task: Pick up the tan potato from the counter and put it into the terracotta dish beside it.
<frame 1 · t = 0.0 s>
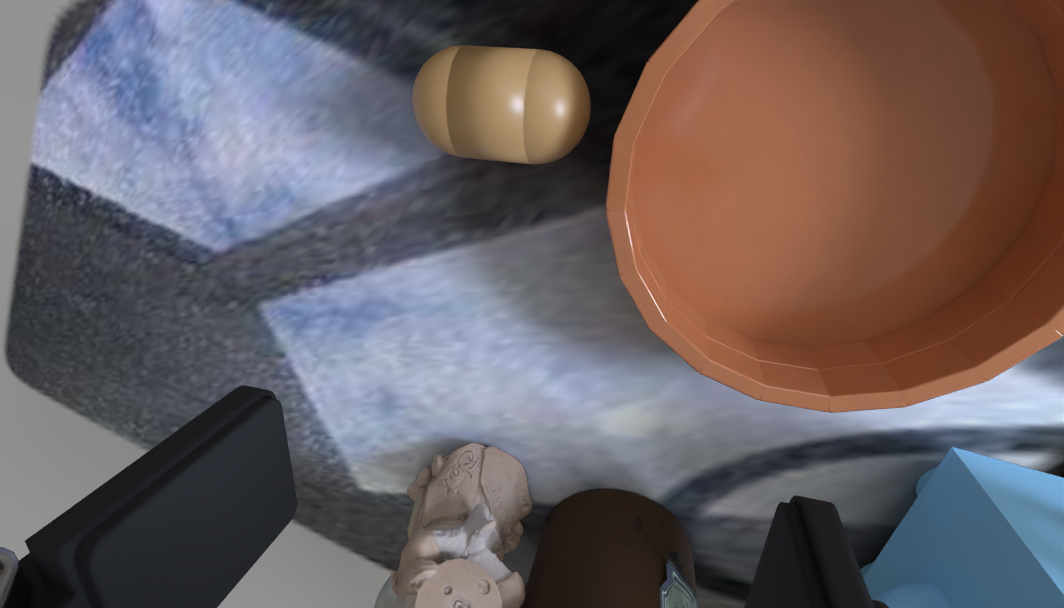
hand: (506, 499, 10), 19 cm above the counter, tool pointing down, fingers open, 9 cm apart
olive oil: (618, 543, 34), on the counter
figurine: (483, 487, 35), on the counter
light blue teapot: (973, 568, 29), on the counter
potato: (514, 103, 25), on the counter
terracotta dish: (821, 176, 23), on the counter
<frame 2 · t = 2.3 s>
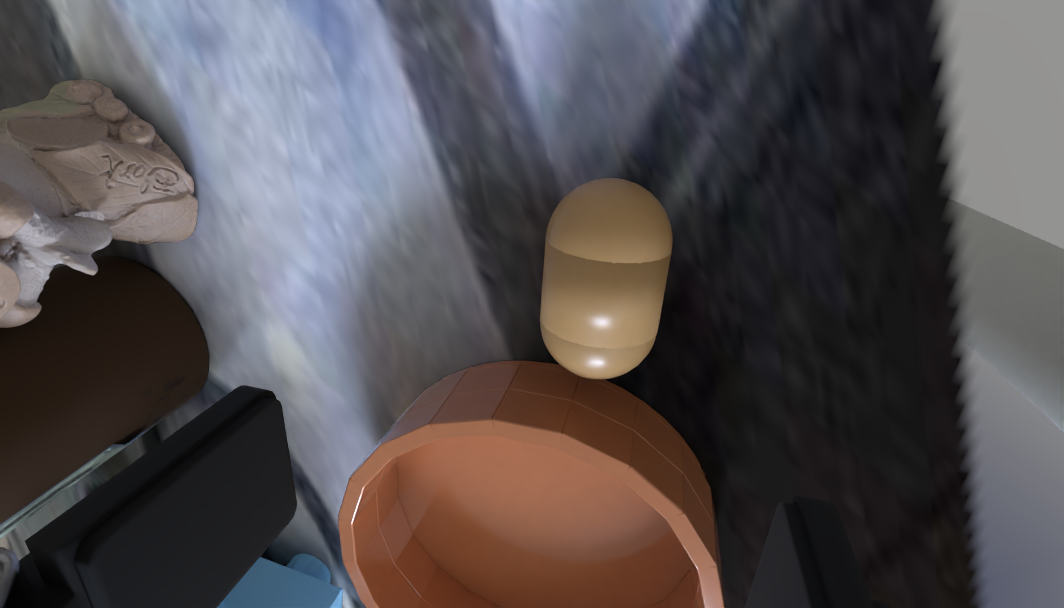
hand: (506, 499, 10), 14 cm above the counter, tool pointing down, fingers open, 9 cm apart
olive oil: (144, 332, 31), on the counter
figurine: (136, 176, 27), on the counter
light blue teapot: (253, 580, 38), on the counter
potato: (609, 263, 22), on the counter
terracotta dish: (540, 506, 28), on the counter
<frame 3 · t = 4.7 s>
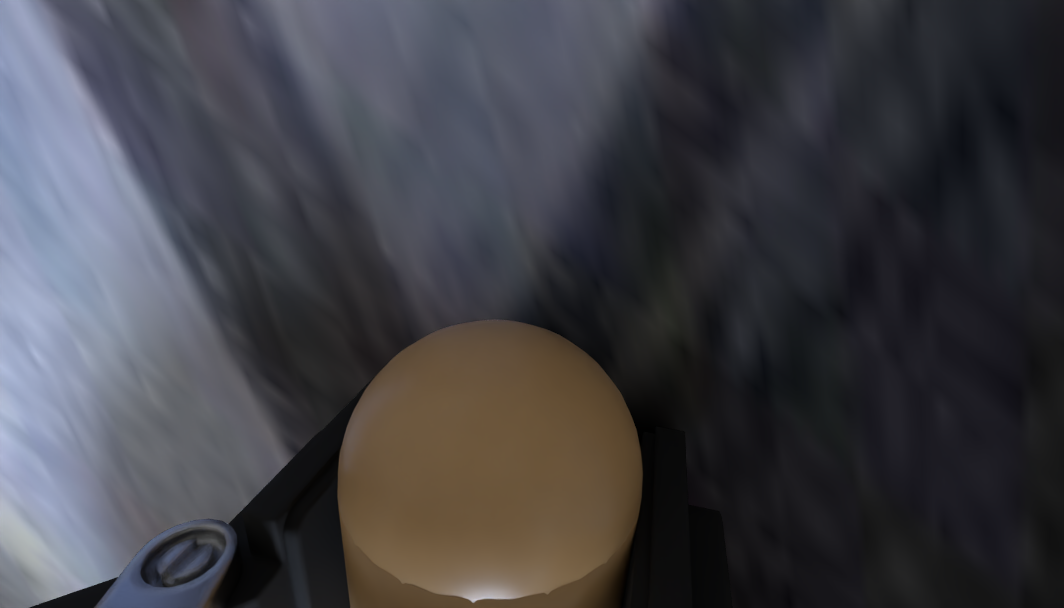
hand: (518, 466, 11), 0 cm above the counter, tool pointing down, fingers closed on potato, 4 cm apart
potato: (523, 454, 11), on the counter, touching gripper
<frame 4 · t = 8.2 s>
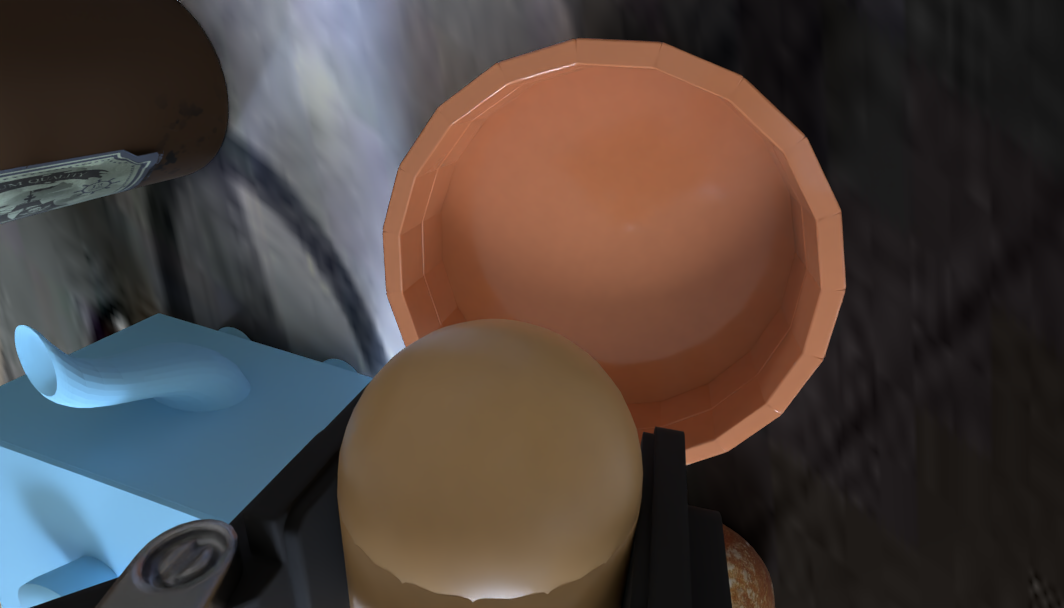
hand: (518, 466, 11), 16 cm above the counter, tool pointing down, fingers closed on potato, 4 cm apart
olive oil: (154, 85, 28), on the counter
bread roll: (670, 566, 32), on the counter
light blue teapot: (275, 404, 34), on the counter
potato: (523, 453, 11), point 16 cm above the counter, touching gripper
terracotta dish: (605, 253, 25), on the counter
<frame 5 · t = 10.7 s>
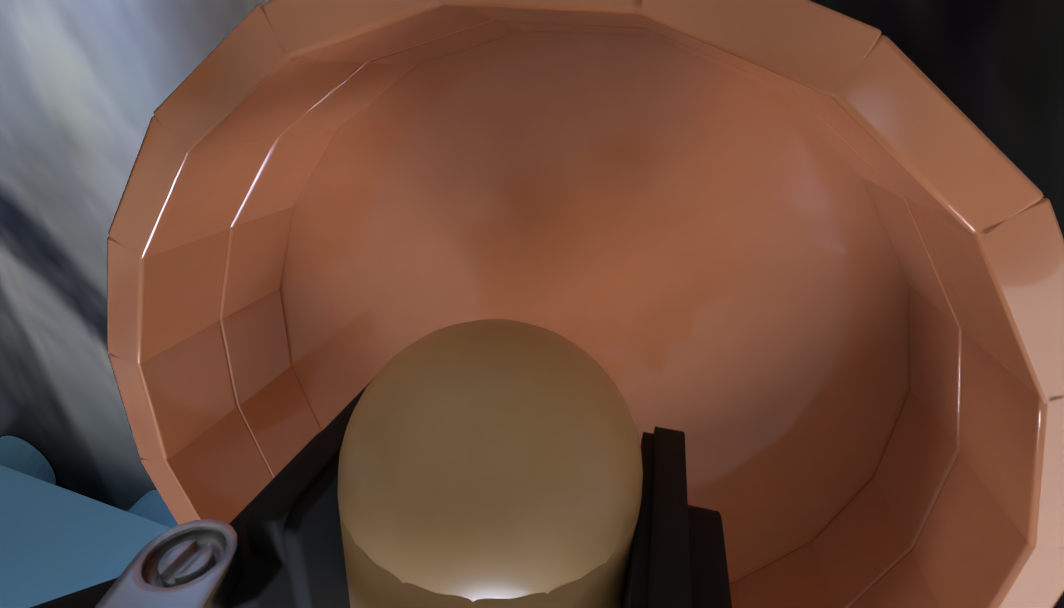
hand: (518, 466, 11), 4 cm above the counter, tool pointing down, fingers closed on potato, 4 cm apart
light blue teapot: (96, 540, 24), on the counter
potato: (523, 453, 11), point 4 cm above the counter, touching gripper
terracotta dish: (559, 365, 14), on the counter
when the fingers open (1 cm above the counter, at t = 12.1 s): potato stays where it is, resting on terracotta dish.
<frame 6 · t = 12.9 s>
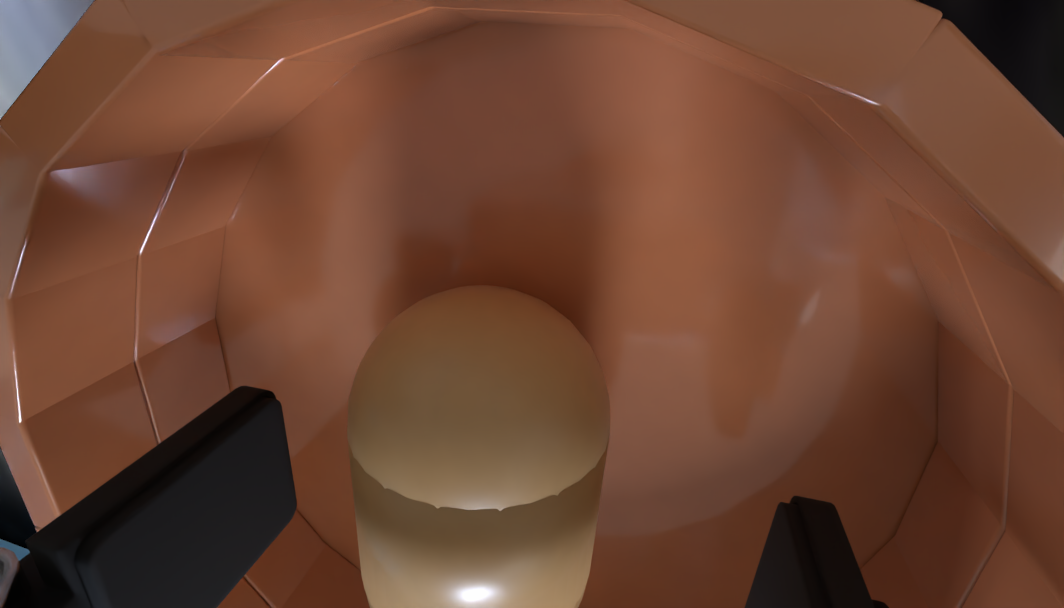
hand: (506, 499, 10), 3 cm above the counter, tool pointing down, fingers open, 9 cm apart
potato: (526, 417, 12), point 1 cm above the counter, tilted 9°, touching terracotta dish
terracotta dish: (533, 405, 13), on the counter
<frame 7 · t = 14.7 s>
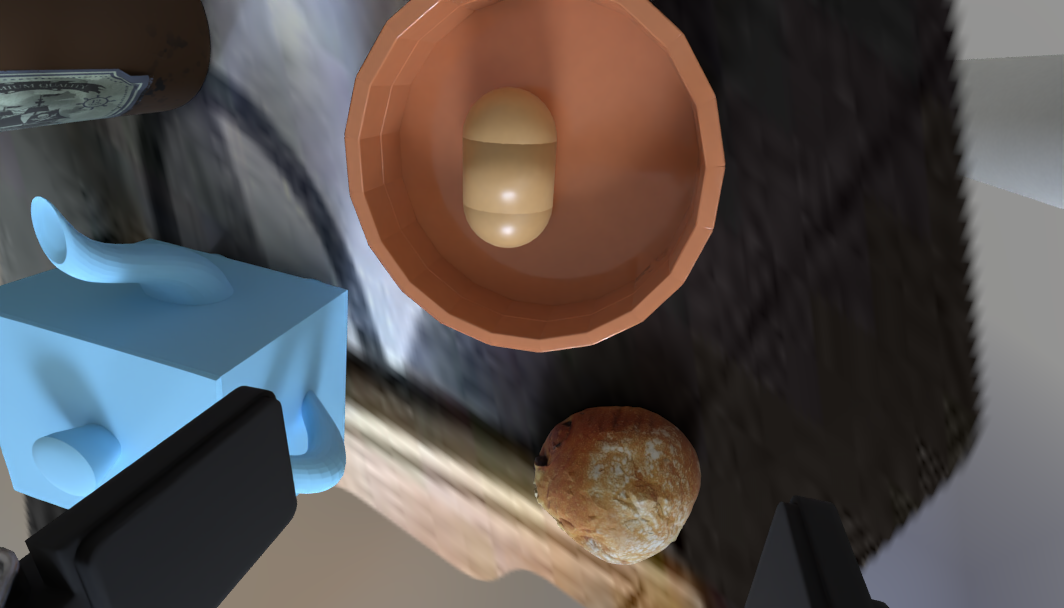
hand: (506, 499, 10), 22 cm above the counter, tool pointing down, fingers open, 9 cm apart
olive oil: (144, 27, 31), on the counter
bread roll: (615, 460, 36), on the counter
light blue teapot: (258, 327, 38), on the counter
potato: (537, 166, 28), point 1 cm above the counter, tilted 27°, touching terracotta dish
terracotta dish: (542, 164, 29), on the counter
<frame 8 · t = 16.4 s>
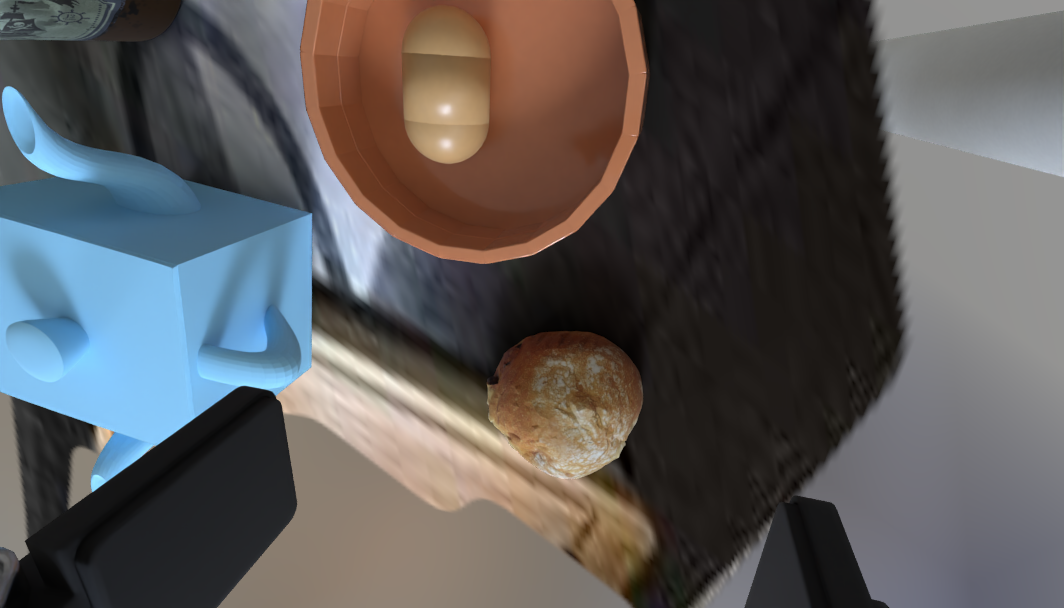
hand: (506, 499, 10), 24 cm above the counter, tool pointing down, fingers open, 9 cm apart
bread roll: (567, 386, 37), on the counter
light blue teapot: (231, 257, 40), on the counter
potato: (483, 89, 30), point 1 cm above the counter, tilted 39°, touching terracotta dish
terracotta dish: (491, 89, 31), on the counter
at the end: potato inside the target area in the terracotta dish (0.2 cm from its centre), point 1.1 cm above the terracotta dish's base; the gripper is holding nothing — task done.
